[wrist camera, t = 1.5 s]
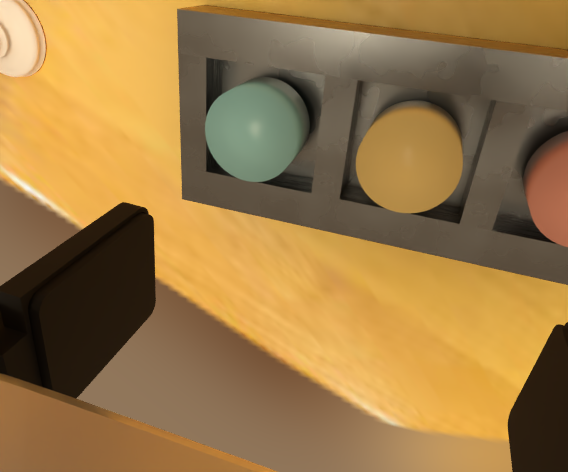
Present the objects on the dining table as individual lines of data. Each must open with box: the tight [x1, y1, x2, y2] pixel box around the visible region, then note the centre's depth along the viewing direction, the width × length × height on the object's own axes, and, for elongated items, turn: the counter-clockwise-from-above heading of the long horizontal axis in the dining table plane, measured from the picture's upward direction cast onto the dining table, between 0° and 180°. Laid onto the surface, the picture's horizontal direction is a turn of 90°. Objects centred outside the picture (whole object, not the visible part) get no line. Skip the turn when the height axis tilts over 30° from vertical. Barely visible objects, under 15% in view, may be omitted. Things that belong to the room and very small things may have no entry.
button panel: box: [177, 5, 568, 285], centre depth 24 cm, size 24×10×3 cm, turn 86°
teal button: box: [205, 77, 310, 182], centre depth 24 cm, size 5×5×3 cm
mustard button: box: [356, 100, 463, 213], centre depth 23 cm, size 5×5×3 cm
